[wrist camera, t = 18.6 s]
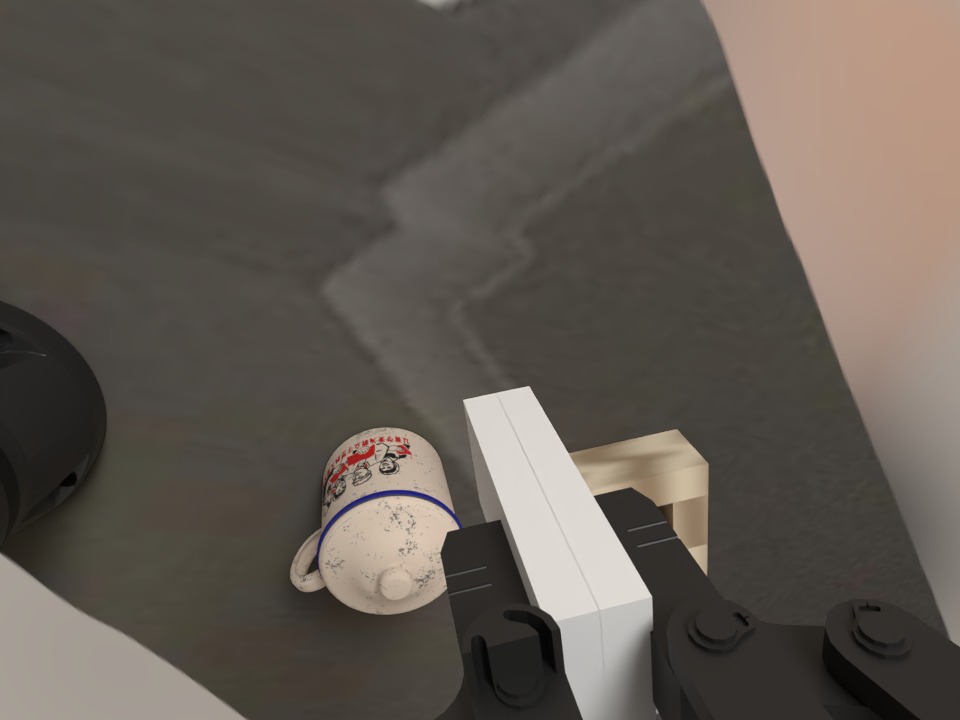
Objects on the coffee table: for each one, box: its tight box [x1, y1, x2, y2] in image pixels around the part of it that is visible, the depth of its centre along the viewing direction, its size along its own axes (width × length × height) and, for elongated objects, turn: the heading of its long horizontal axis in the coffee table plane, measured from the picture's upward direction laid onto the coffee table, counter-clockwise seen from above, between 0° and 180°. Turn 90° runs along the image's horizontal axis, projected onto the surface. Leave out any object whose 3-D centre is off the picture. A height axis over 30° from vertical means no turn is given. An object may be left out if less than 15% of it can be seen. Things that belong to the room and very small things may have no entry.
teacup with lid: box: [290, 428, 462, 615], centre depth 44 cm, size 12×9×12 cm
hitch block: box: [569, 429, 708, 576], centre depth 54 cm, size 10×22×7 cm, turn 8°
